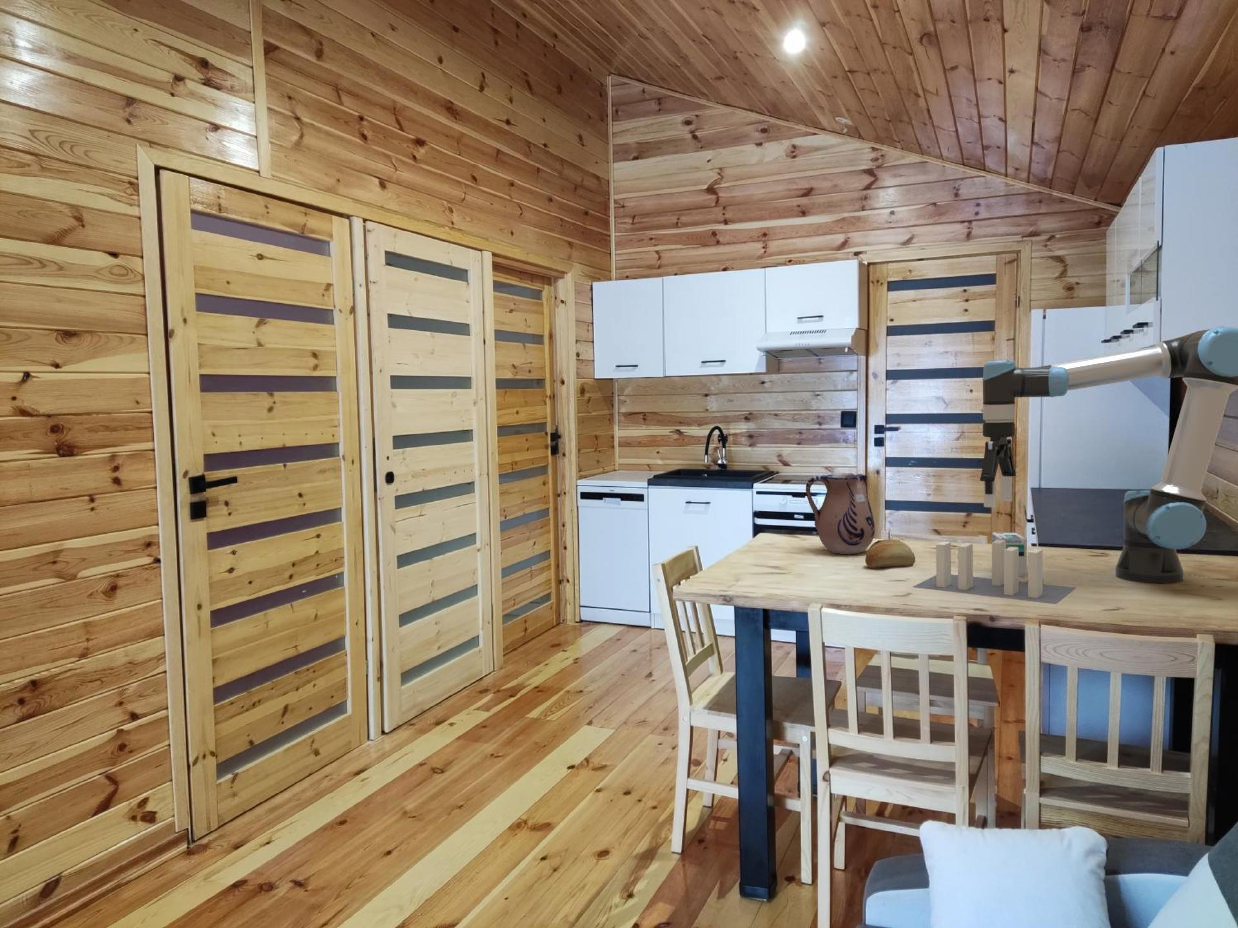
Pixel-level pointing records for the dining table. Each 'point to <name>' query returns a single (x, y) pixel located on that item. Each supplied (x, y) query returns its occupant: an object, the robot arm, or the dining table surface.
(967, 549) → the domino
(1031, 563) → the domino
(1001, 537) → the light bulb box
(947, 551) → the domino
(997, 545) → the domino
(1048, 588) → the mat
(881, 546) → the bread roll
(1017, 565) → the domino
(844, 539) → the ceramic pitcher
